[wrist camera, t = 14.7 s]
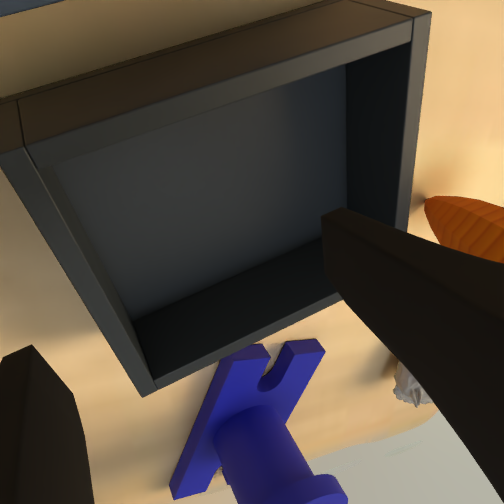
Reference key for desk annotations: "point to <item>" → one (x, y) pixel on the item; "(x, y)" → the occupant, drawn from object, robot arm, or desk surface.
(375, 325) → the robot arm
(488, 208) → the carrot
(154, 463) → the desk surface
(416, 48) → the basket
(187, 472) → the mount
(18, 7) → the rack
